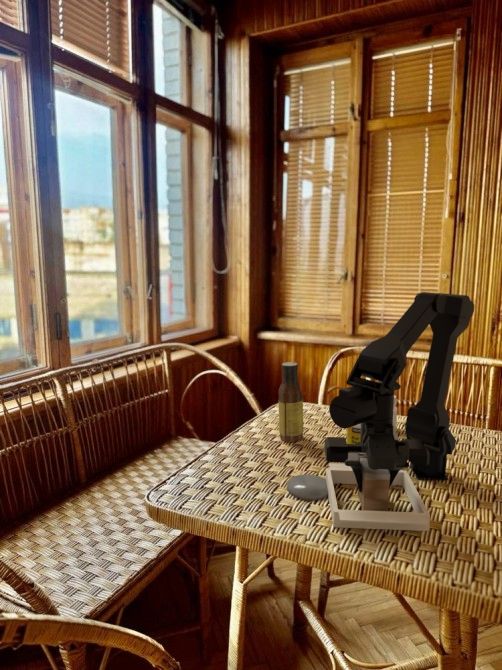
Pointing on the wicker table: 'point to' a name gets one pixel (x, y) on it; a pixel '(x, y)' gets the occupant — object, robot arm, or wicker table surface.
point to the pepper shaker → (394, 412)
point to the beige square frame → (376, 518)
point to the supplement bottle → (354, 436)
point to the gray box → (374, 488)
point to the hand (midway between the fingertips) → (373, 491)
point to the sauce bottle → (290, 405)
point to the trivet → (308, 487)
